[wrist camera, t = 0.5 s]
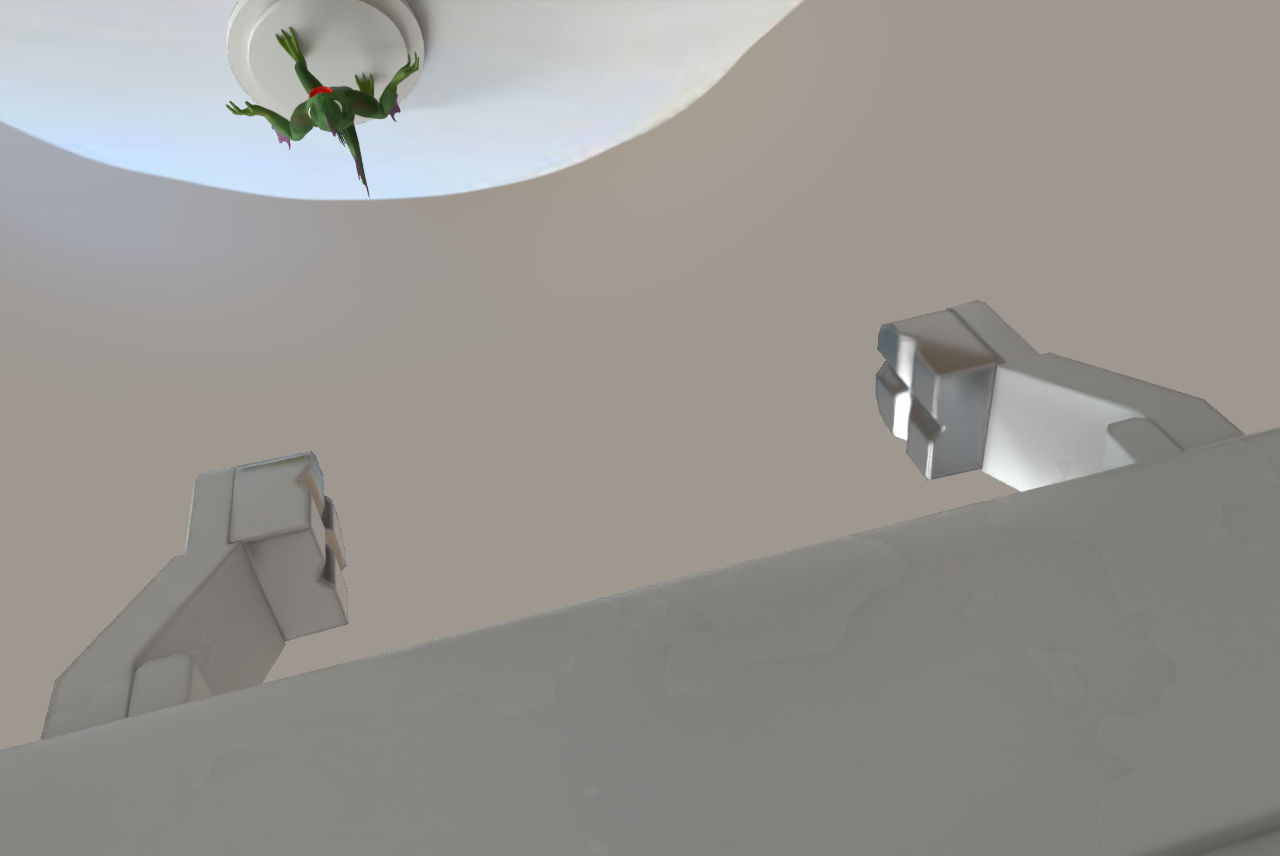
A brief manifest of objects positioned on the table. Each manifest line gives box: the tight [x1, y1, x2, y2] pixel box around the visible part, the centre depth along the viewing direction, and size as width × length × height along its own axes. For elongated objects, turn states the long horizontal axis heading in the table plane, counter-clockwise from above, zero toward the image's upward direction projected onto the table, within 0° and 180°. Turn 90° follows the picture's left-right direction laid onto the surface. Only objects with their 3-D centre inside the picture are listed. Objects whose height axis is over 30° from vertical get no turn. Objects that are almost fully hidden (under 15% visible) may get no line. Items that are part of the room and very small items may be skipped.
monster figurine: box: [226, 0, 425, 198], centre depth 65 cm, size 12×12×10 cm
